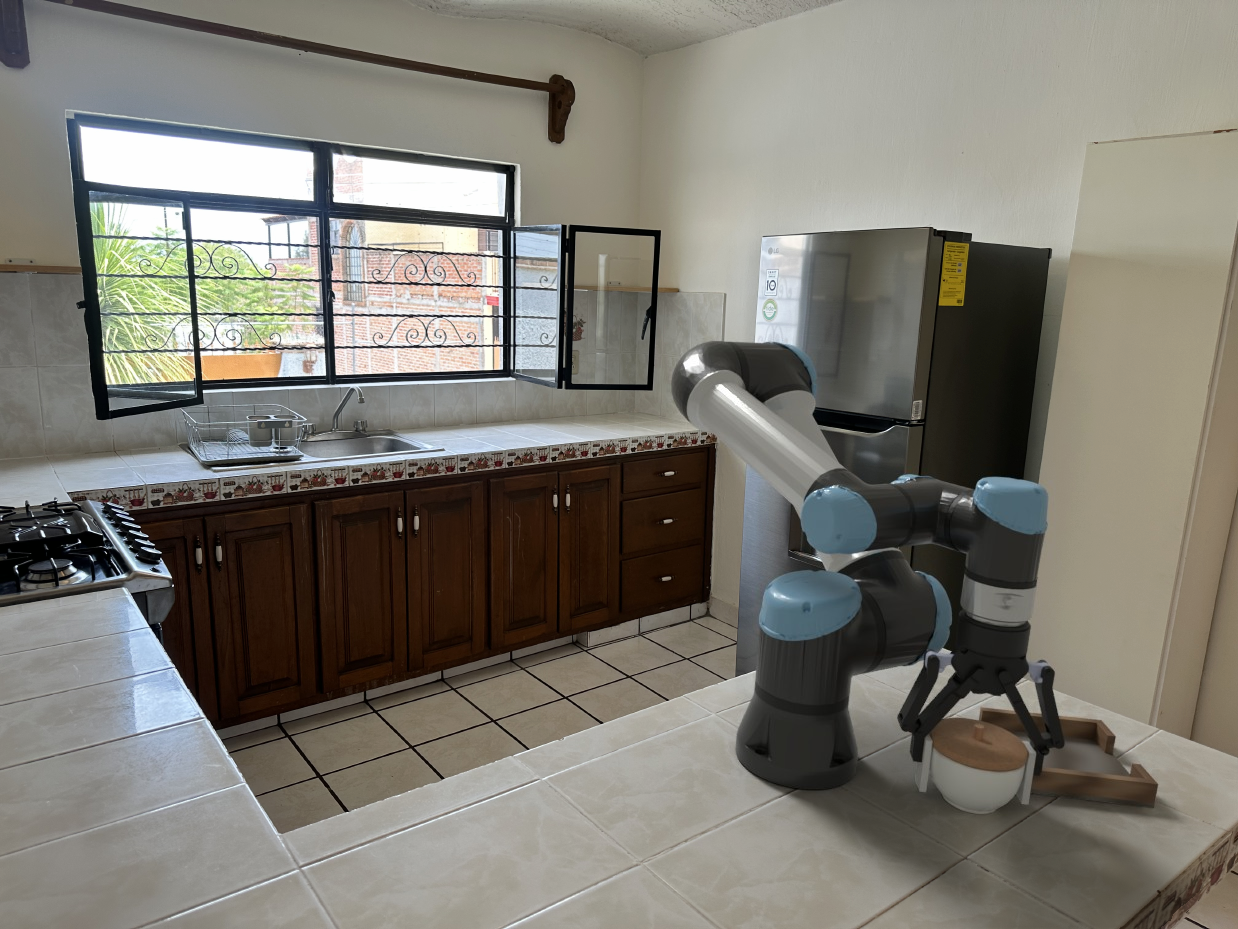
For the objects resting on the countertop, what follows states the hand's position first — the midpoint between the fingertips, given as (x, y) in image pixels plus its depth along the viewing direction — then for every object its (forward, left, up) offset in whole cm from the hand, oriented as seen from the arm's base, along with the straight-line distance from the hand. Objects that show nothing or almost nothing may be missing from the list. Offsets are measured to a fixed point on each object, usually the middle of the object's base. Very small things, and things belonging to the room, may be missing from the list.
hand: (970, 791), depth 100 cm
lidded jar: (0, 0, -1) cm, 1 cm away
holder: (+14, +11, -1) cm, 18 cm away
